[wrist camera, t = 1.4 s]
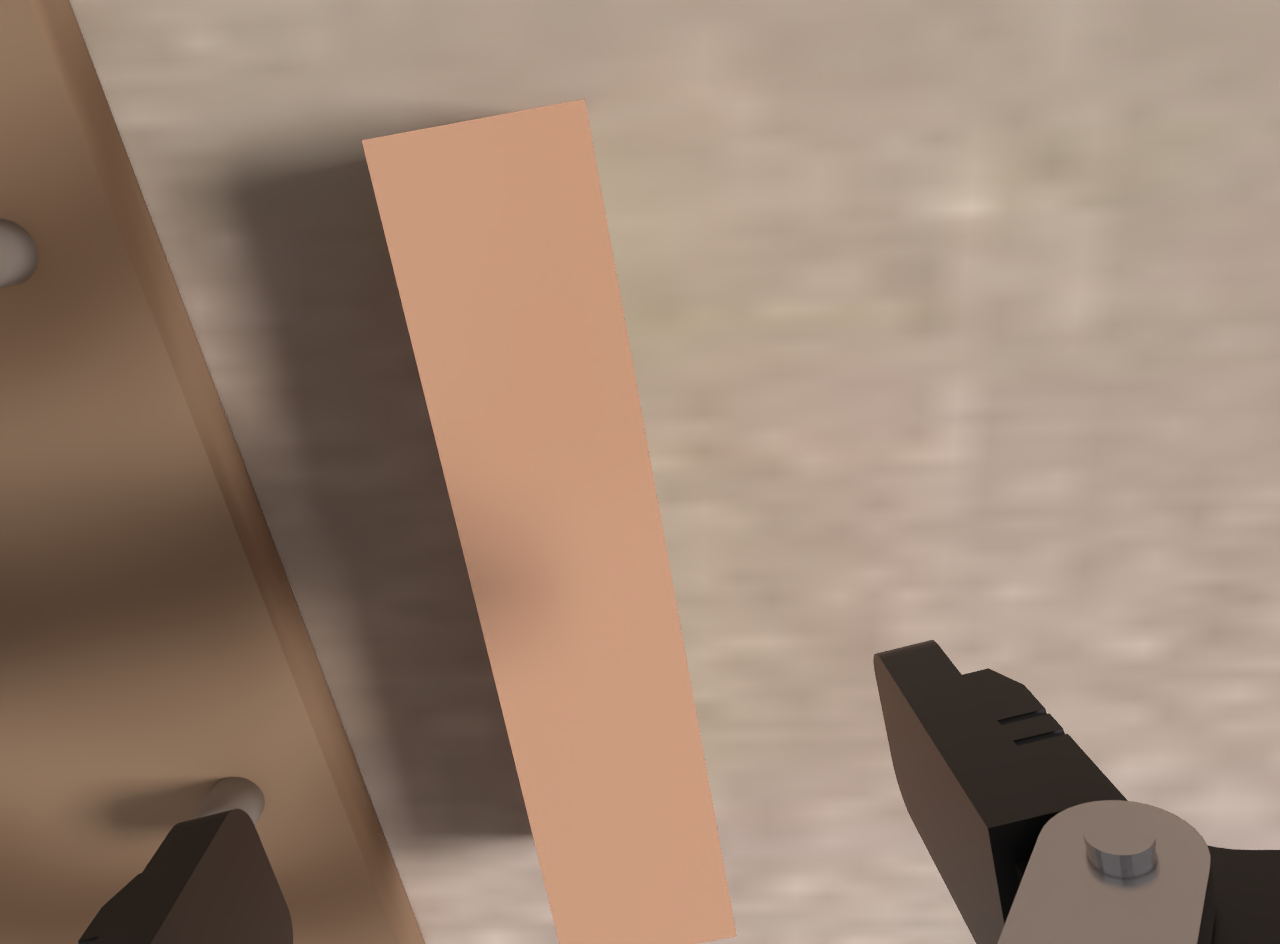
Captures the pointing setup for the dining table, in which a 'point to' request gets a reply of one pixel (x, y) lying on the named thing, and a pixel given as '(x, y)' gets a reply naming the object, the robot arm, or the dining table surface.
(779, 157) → the dining table surface
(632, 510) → the clay strip
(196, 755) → the rack
